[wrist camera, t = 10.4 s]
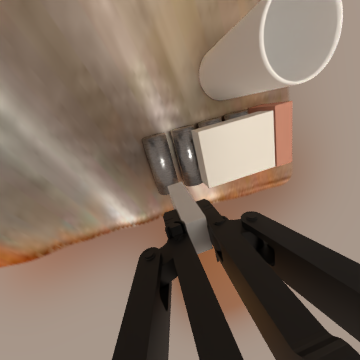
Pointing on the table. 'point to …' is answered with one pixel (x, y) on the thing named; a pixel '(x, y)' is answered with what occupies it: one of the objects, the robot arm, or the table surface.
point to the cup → (272, 48)
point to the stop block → (280, 129)
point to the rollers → (185, 152)
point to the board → (235, 148)
